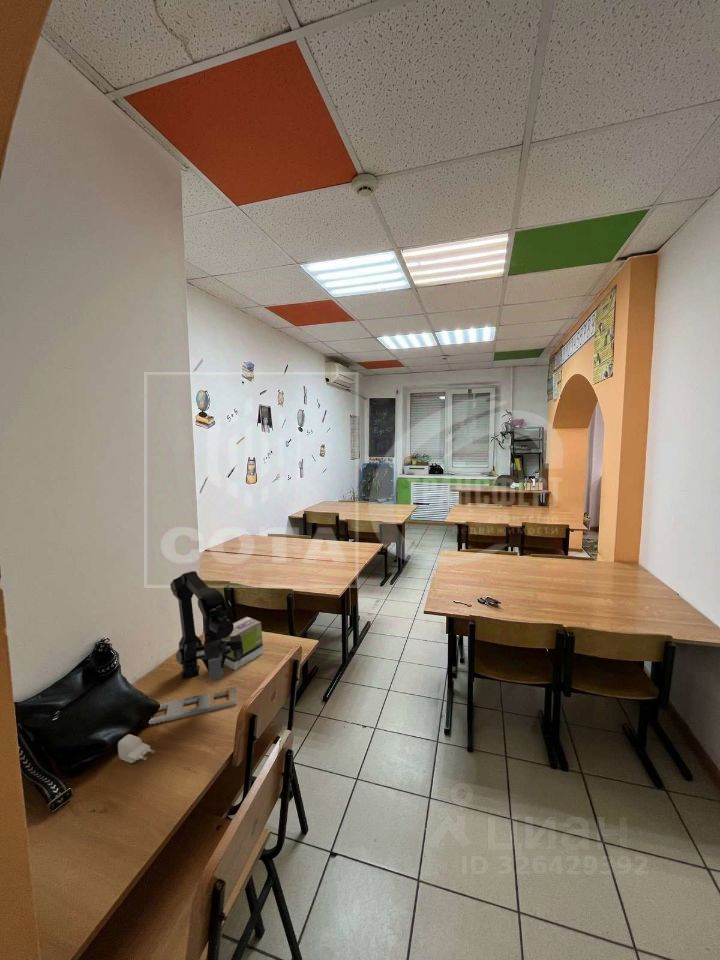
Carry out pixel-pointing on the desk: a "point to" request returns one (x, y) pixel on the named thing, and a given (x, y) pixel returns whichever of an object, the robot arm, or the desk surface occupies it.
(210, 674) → the nut block
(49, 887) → the desk surface
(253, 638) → the tea box
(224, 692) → the rail
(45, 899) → the desk surface
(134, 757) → the power adapter
